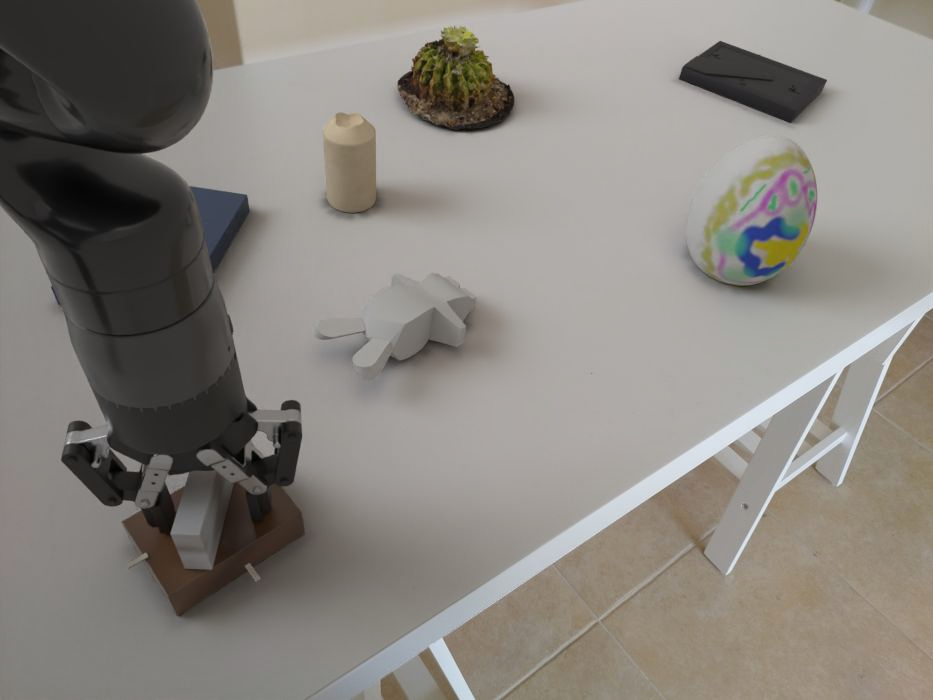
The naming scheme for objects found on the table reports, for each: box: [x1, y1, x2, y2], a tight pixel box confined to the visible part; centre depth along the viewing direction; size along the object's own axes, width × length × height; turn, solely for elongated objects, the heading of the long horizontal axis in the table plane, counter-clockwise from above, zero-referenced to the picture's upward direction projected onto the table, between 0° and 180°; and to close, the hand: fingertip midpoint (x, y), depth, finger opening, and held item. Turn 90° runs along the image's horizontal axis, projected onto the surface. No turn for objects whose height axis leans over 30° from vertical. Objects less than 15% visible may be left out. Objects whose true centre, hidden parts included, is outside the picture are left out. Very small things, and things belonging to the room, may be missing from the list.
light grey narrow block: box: [170, 470, 234, 570], centre depth 50 cm, size 8×2×5 cm, turn 0°
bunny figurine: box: [312, 272, 477, 381], centre depth 67 cm, size 10×5×15 cm
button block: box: [50, 185, 251, 306], centre depth 73 cm, size 19×12×4 cm, turn 172°
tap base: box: [121, 483, 306, 617], centre depth 52 cm, size 12×12×3 cm
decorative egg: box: [684, 134, 818, 287], centre depth 76 cm, size 12×12×15 cm
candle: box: [322, 112, 377, 214], centre depth 80 cm, size 6×6×10 cm
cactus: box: [396, 25, 515, 131], centre depth 98 cm, size 17×16×10 cm
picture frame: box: [678, 40, 828, 124], centre depth 111 cm, size 13×2×18 cm
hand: (214, 515), depth 51 cm, fingers open, 5 cm apart
